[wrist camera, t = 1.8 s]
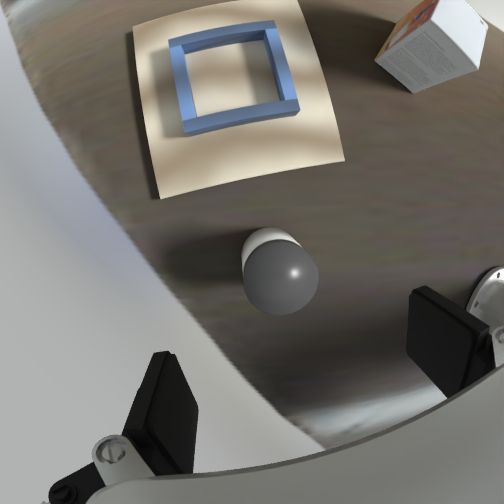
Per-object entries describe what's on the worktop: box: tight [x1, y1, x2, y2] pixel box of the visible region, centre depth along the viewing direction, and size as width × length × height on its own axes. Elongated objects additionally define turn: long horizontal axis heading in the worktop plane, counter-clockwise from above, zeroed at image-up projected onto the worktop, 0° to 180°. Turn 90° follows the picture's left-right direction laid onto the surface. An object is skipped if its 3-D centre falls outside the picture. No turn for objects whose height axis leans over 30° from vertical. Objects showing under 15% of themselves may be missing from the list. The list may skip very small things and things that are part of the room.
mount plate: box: [133, 0, 345, 199], centre depth 20 cm, size 18×16×3 cm
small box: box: [374, 0, 488, 93], centre depth 16 cm, size 8×6×10 cm
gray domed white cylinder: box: [242, 227, 319, 315], centre depth 22 cm, size 5×5×7 cm
